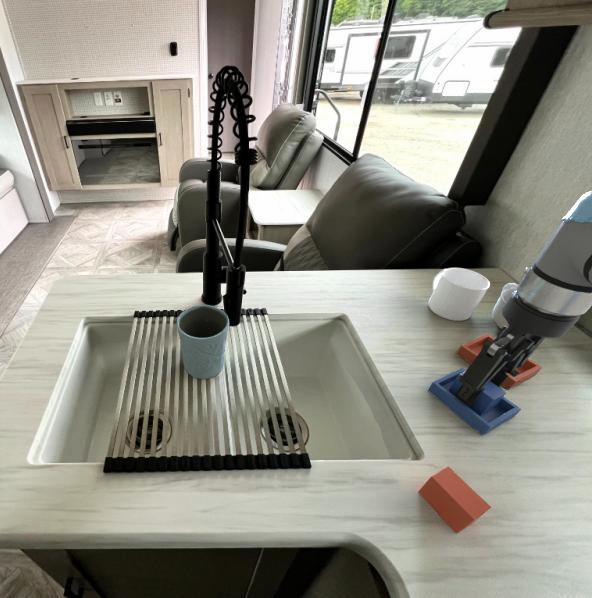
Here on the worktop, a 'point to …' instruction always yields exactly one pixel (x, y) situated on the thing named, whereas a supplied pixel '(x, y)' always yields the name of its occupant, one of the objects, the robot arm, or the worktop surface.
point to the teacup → (504, 297)
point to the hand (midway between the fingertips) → (469, 399)
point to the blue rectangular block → (482, 396)
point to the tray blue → (480, 423)
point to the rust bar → (453, 499)
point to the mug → (457, 293)
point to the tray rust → (526, 372)
